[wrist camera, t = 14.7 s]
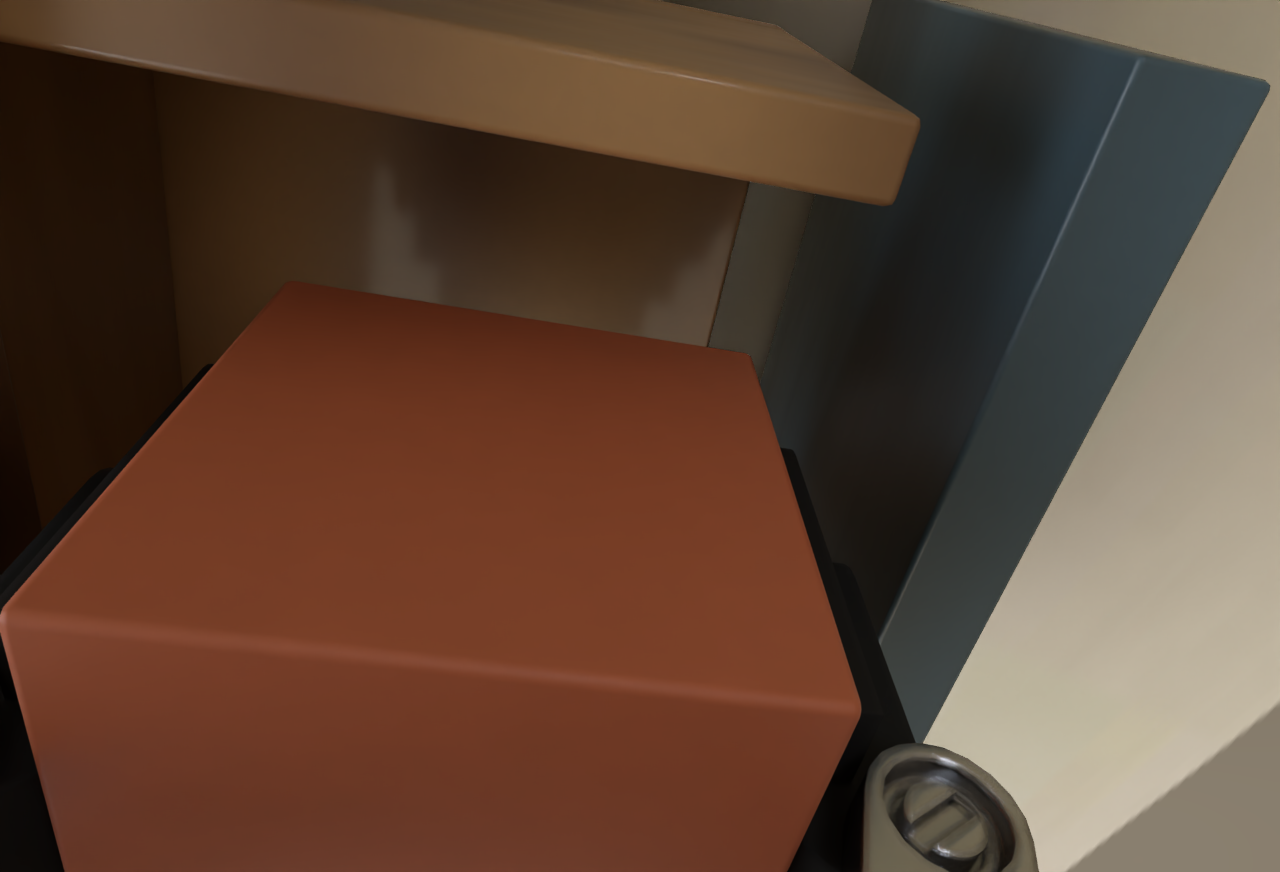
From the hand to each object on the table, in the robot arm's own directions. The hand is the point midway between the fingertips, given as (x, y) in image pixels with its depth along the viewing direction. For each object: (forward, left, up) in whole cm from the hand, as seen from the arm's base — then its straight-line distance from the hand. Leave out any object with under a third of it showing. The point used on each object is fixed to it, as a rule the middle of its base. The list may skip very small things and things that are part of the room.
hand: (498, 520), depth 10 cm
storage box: (0, 0, -7) cm, 7 cm away
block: (0, 0, 0) cm, 0 cm away
